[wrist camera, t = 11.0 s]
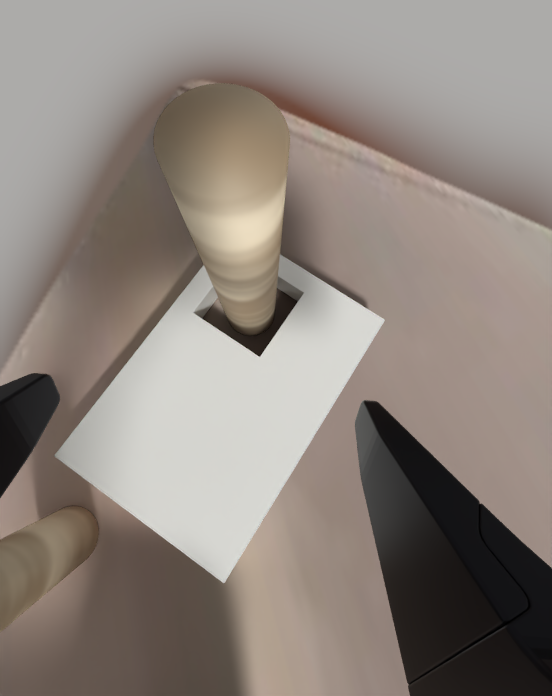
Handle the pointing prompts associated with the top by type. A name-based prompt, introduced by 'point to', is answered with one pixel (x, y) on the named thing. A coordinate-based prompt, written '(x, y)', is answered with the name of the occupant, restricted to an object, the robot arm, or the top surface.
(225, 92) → the long pin
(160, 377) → the hole plate
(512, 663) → the robot arm
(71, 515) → the short pin
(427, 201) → the top surface
